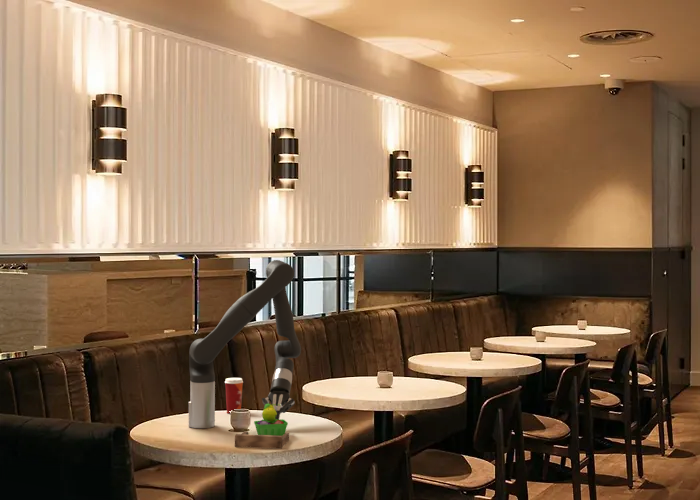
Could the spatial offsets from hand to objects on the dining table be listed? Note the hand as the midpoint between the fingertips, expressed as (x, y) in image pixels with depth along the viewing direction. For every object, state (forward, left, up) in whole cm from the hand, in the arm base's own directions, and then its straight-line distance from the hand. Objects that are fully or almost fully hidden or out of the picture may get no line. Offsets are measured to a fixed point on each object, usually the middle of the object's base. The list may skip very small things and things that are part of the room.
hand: (274, 420), depth 361 cm
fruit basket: (0, -8, -4) cm, 9 cm away
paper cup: (-24, +32, -4) cm, 40 cm away
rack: (0, -21, -4) cm, 21 cm away
